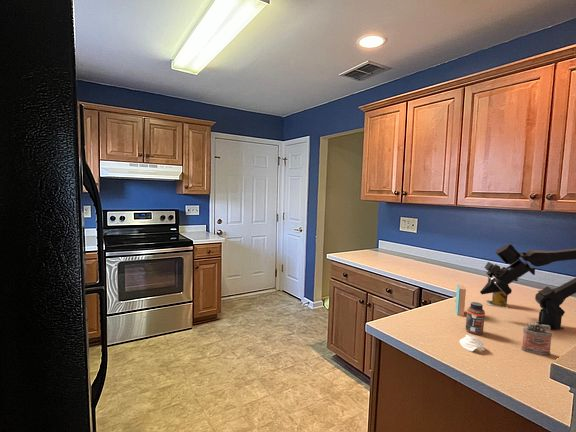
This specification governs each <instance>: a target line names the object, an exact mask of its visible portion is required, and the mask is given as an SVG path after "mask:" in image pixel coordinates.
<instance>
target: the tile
mask: <svg viewBox="0 0 576 432" xmlns="http://www.w3.org/2000/svg"><path fill="white" fill-rule="evenodd" d="M466 291H467V289H466V287H465V285H464V284H459V283H458V284H456V293H455V294H456V295H455V308H454V310H455V313H456V316H459V317H465V306H466V305H465V304H466V293H467V292H466Z"/></svg>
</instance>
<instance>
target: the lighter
mask: <svg viewBox="0 0 576 432" xmlns="http://www.w3.org/2000/svg"><path fill="white" fill-rule="evenodd" d="M527 326H528V327H523V328H522V329H523V331H522V332H523V333H522V334H523V335H522V344H521V349H520V350H522V351H523V352H525V353H528V354H534V355H539V356H546V357H550V356H551V346H552V337H553V333H552V332H551V331H550V326H548V325H542V324H541V325H539V324H538V323H536V322H534V323H532V322H528V323H527Z"/></svg>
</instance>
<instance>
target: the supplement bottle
mask: <svg viewBox="0 0 576 432" xmlns="http://www.w3.org/2000/svg"><path fill="white" fill-rule="evenodd" d="M483 306H484V305H483V304H482V303H481V302H477V301H471V302H470V306H469V307H467V309H466V321H465V331H466V332H468V333H470V334H473V335H482V334H484V325H485V317H486V311H485V310H484V309H483Z"/></svg>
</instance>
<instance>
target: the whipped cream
mask: <svg viewBox="0 0 576 432" xmlns="http://www.w3.org/2000/svg"><path fill="white" fill-rule="evenodd" d="M459 344H460V346H461V347H462V348H463V349H464V350H466V351H468V352H474V351H475V350H476V349H479V350H482V351H485V350H486V349H485V348H483V347H484V341H483V340H481V339H480V338H478V337H476V336H474V335H471V334H465V336H464V337H463V338H461V339H460V340H459Z"/></svg>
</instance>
